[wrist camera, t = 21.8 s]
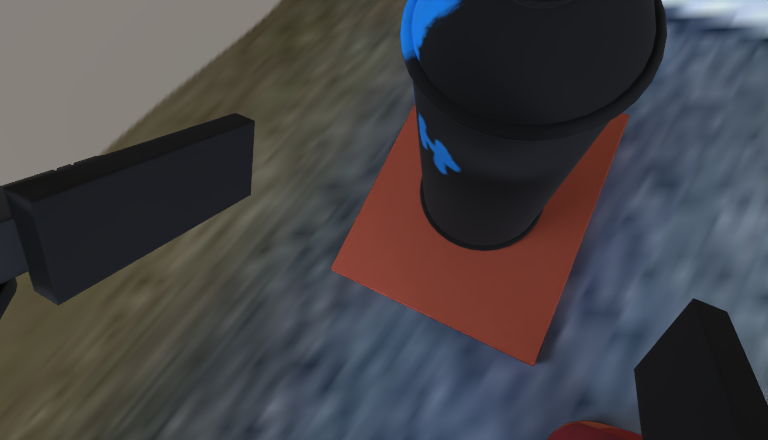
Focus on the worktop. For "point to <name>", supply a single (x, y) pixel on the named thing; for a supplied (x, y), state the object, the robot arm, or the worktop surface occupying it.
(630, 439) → the paper cup
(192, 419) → the worktop surface
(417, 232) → the pad
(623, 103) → the aerosol can
